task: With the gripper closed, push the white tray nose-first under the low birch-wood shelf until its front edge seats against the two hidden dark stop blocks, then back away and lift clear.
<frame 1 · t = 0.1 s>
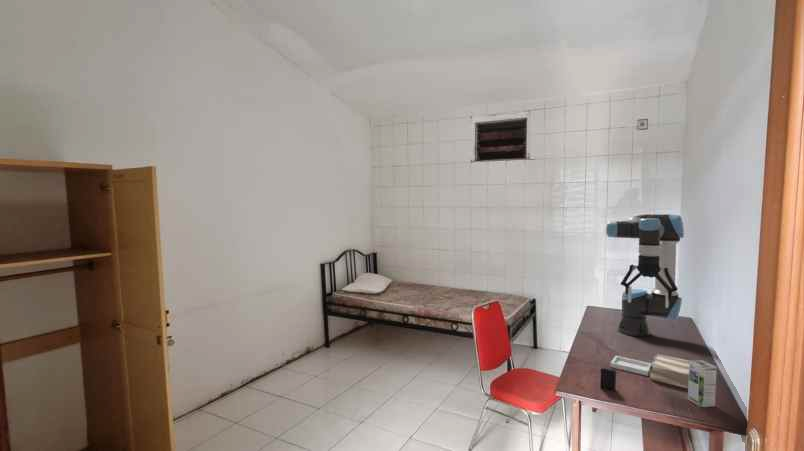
hand: (647, 304, 165), 28 cm above the table, tool pointing down, fingers open, 13 cm apart
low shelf: (652, 372, 162), on the table
ink cartridge: (608, 389, 149), on the table
syrup box: (701, 403, 138), on the table
white tray: (631, 368, 168), on the table
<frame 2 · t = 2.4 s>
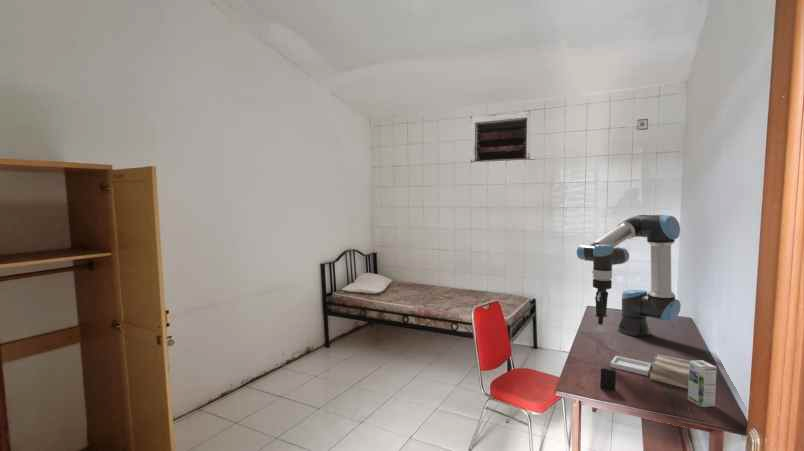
hand: (600, 330, 174), 14 cm above the table, tool pointing down, fingers closed
nothing on the table moved.
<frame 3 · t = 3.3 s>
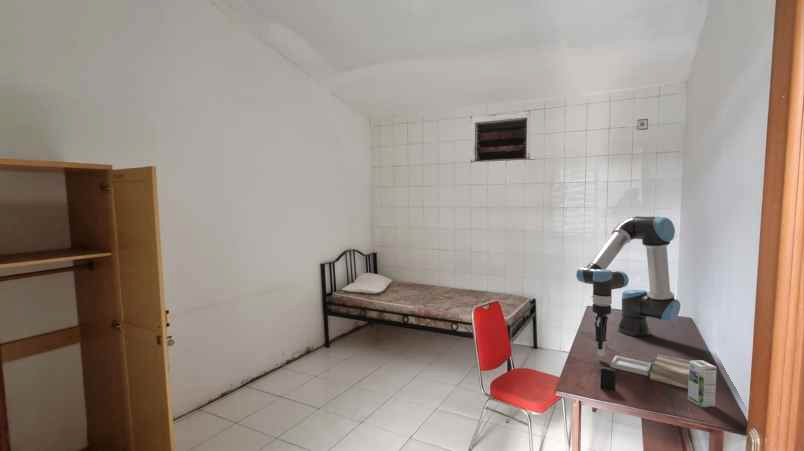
hand: (600, 355, 175), 2 cm above the table, tool pointing down, fingers closed
nothing on the table moved.
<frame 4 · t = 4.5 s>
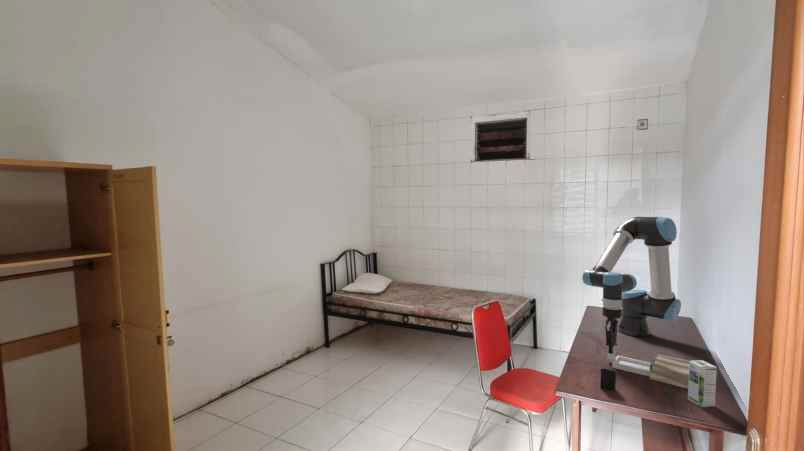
hand: (611, 359, 172), 1 cm above the table, tool pointing down, fingers closed
nothing on the table moved.
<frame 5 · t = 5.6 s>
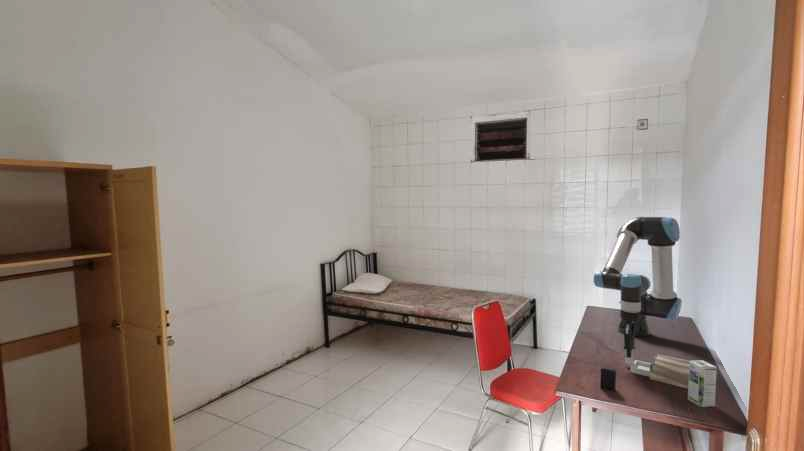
hand: (629, 363, 168), 1 cm above the table, tool pointing down, fingers closed
white tray: (651, 373, 162), on the table, touching gripper
everything else where it was.
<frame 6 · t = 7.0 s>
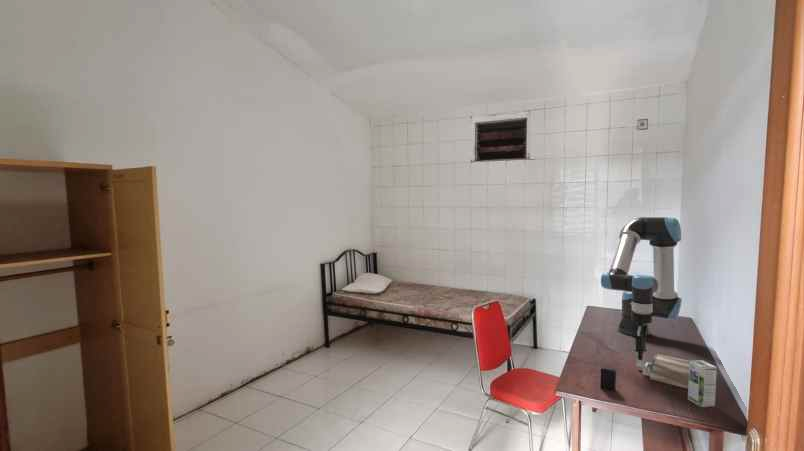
hand: (640, 366, 165), 1 cm above the table, tool pointing down, fingers closed
white tray: (664, 375, 160), on the table, touching gripper
everything else where it was.
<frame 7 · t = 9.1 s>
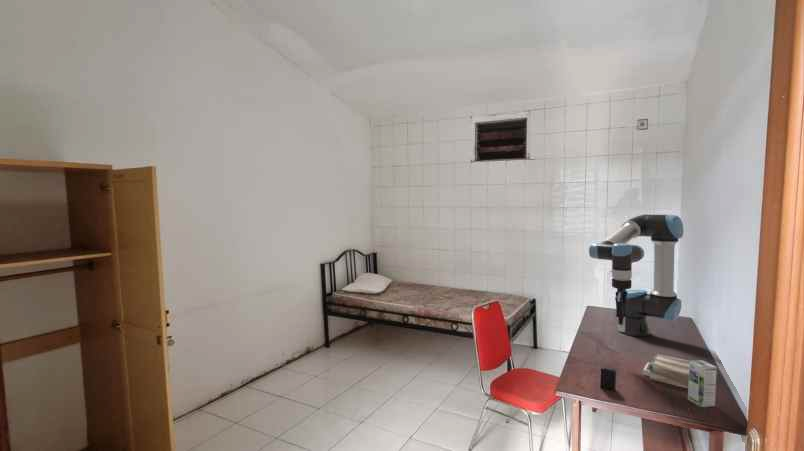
hand: (621, 330, 172), 14 cm above the table, tool pointing down, fingers closed
white tray: (664, 376, 160), on the table
everything else where it was.
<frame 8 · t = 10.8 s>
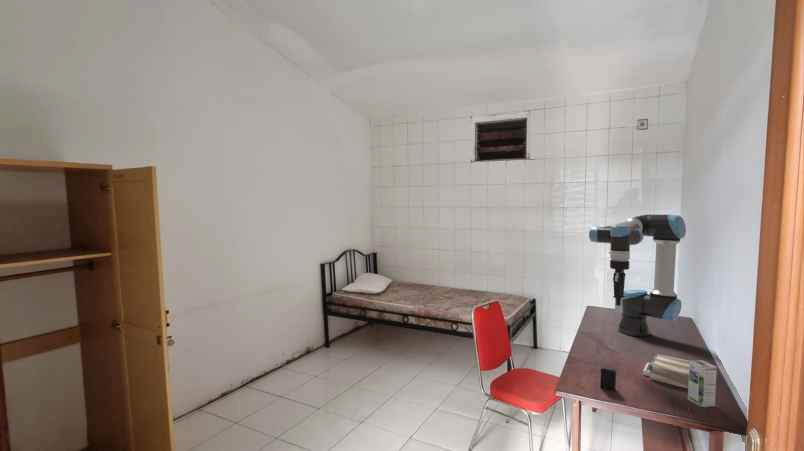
hand: (618, 312, 173), 22 cm above the table, tool pointing down, fingers closed
nothing on the table moved.
at the end: white tray 0.5 cm from the target spot on the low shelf, point -0.5 cm above the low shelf's base; white tray tilted 0° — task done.
